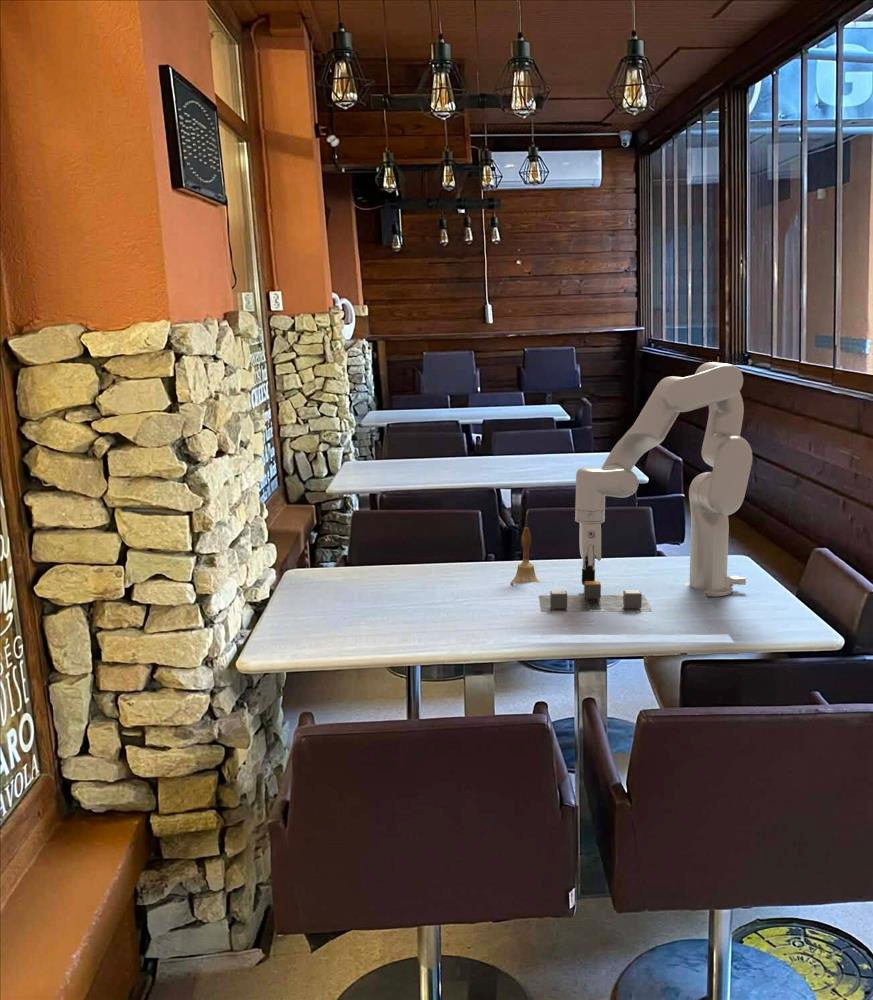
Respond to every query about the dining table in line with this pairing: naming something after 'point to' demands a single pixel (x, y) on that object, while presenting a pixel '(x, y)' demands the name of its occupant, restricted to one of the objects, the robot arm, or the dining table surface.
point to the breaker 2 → (632, 599)
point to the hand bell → (525, 562)
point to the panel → (593, 604)
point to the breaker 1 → (558, 599)
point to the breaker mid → (592, 589)
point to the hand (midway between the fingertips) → (588, 584)
